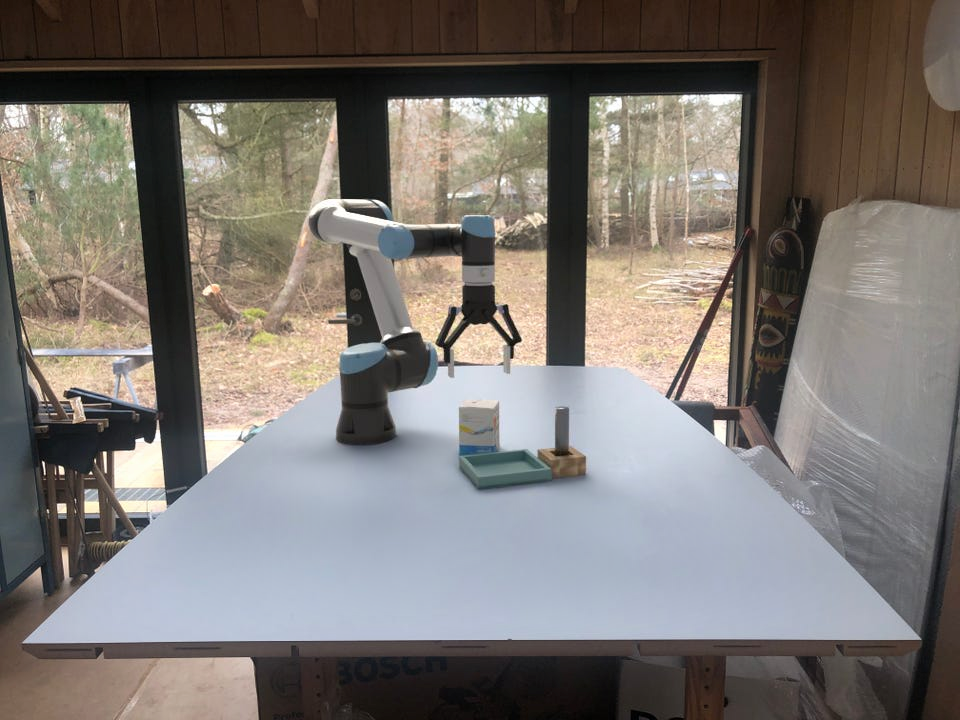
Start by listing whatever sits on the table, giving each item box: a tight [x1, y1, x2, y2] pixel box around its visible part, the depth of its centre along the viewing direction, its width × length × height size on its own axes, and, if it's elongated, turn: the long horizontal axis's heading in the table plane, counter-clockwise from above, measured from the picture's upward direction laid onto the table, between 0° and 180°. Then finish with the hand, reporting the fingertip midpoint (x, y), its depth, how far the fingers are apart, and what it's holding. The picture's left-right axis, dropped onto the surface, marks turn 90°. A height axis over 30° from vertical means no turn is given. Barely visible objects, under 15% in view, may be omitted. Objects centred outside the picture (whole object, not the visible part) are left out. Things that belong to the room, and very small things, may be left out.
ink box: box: [458, 398, 501, 456], centre depth 180 cm, size 9×8×12 cm
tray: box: [458, 448, 553, 490], centre depth 164 cm, size 16×15×3 cm
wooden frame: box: [537, 445, 587, 479], centre depth 165 cm, size 8×8×4 cm
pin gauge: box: [554, 406, 570, 457], centre depth 164 cm, size 3×3×14 cm
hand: (479, 374), depth 177 cm, fingers open, 13 cm apart
